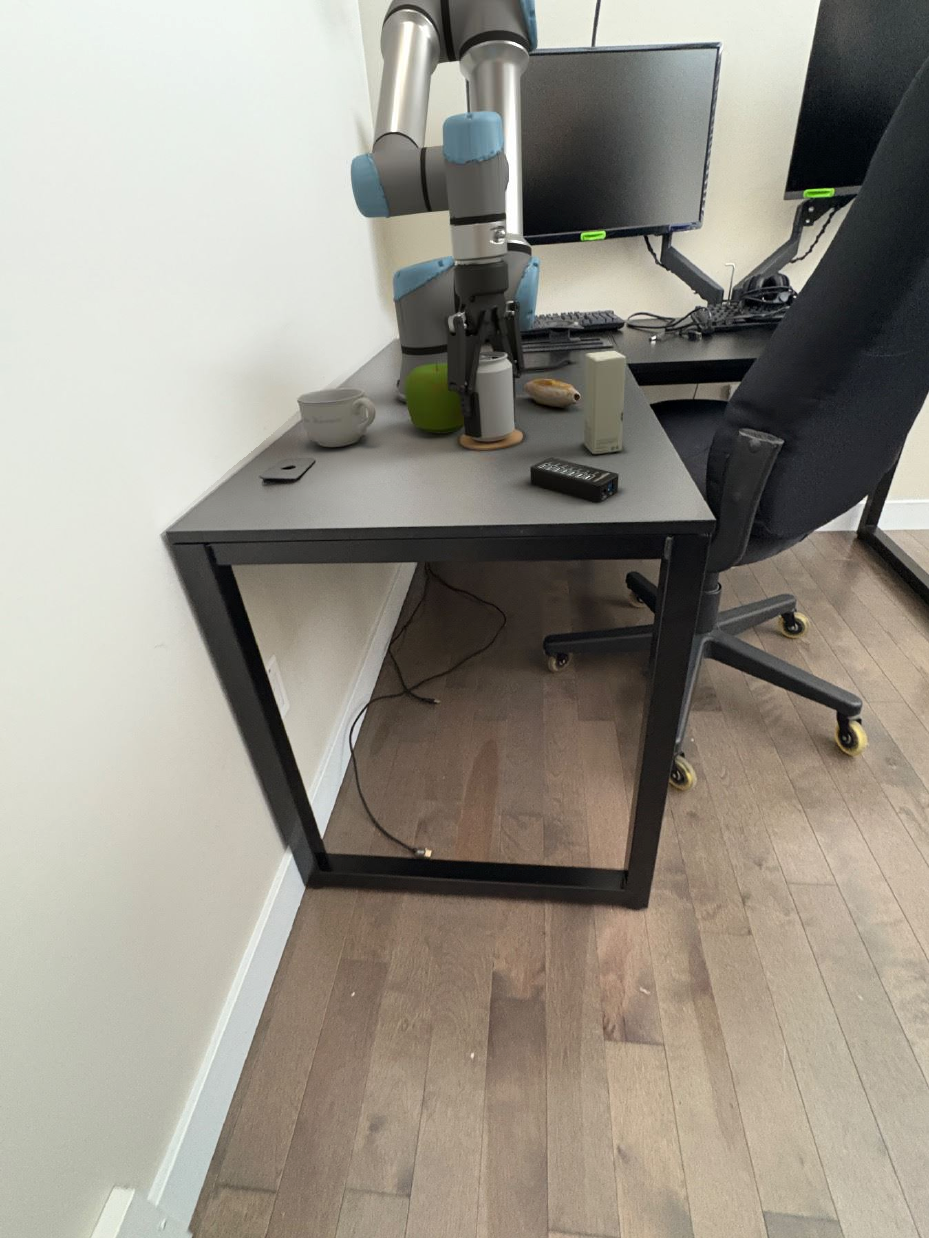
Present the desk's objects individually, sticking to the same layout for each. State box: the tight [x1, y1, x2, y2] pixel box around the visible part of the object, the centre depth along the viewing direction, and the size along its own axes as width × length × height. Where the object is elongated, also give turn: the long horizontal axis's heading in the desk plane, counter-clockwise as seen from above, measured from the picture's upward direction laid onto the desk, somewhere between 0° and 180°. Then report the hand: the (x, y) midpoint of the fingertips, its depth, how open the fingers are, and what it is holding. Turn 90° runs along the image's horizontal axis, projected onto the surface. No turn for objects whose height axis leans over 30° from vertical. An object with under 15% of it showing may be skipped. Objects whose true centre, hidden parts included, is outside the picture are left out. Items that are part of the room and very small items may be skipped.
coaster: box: [459, 428, 524, 451], centre depth 95 cm, size 10×10×1 cm
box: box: [583, 350, 627, 455], centre depth 84 cm, size 5×4×13 cm
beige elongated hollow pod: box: [524, 378, 582, 408], centre depth 107 cm, size 5×14×4 cm, turn 30°
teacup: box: [296, 387, 377, 448], centre depth 98 cm, size 14×11×8 cm
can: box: [465, 350, 515, 441], centre depth 92 cm, size 8×8×12 cm
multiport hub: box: [529, 457, 620, 503], centre depth 77 cm, size 4×11×2 cm, turn 45°
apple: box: [404, 361, 464, 434], centre depth 99 cm, size 11×11×11 cm
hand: (490, 428), depth 95 cm, fingers closed on can, 7 cm apart
